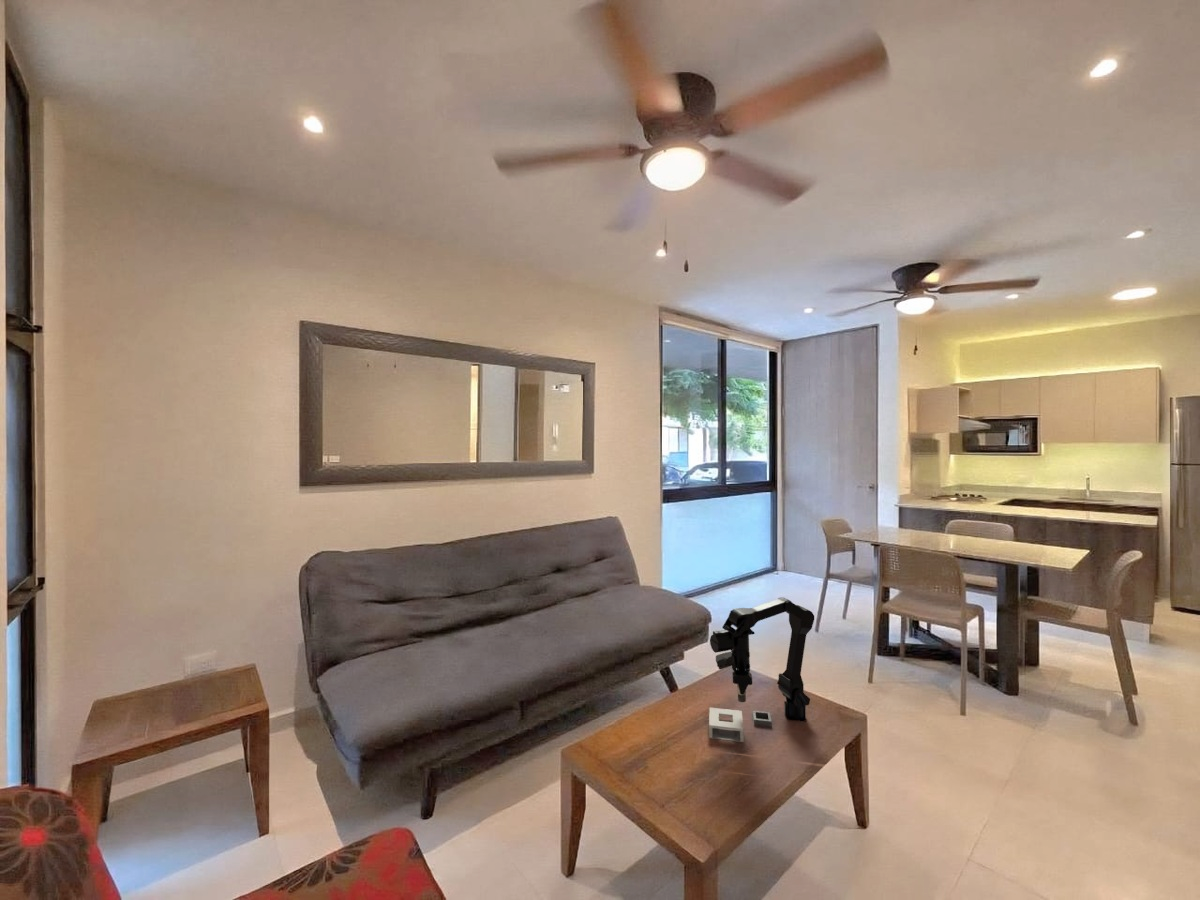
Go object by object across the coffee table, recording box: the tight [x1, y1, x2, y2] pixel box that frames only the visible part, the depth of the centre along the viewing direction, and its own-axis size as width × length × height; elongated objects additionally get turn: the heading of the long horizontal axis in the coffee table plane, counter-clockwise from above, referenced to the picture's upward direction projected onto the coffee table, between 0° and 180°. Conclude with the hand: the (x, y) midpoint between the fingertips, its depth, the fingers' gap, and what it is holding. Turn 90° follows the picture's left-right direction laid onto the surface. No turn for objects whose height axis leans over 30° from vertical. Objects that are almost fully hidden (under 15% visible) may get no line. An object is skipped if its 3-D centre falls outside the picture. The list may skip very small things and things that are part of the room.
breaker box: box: [708, 707, 744, 743], centre depth 169 cm, size 11×11×5 cm
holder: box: [752, 710, 773, 728], centre depth 174 cm, size 6×6×2 cm
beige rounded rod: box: [736, 684, 747, 703], centre depth 171 cm, size 3×3×8 cm
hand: (741, 691), depth 171 cm, fingers closed on beige rounded rod, 3 cm apart
